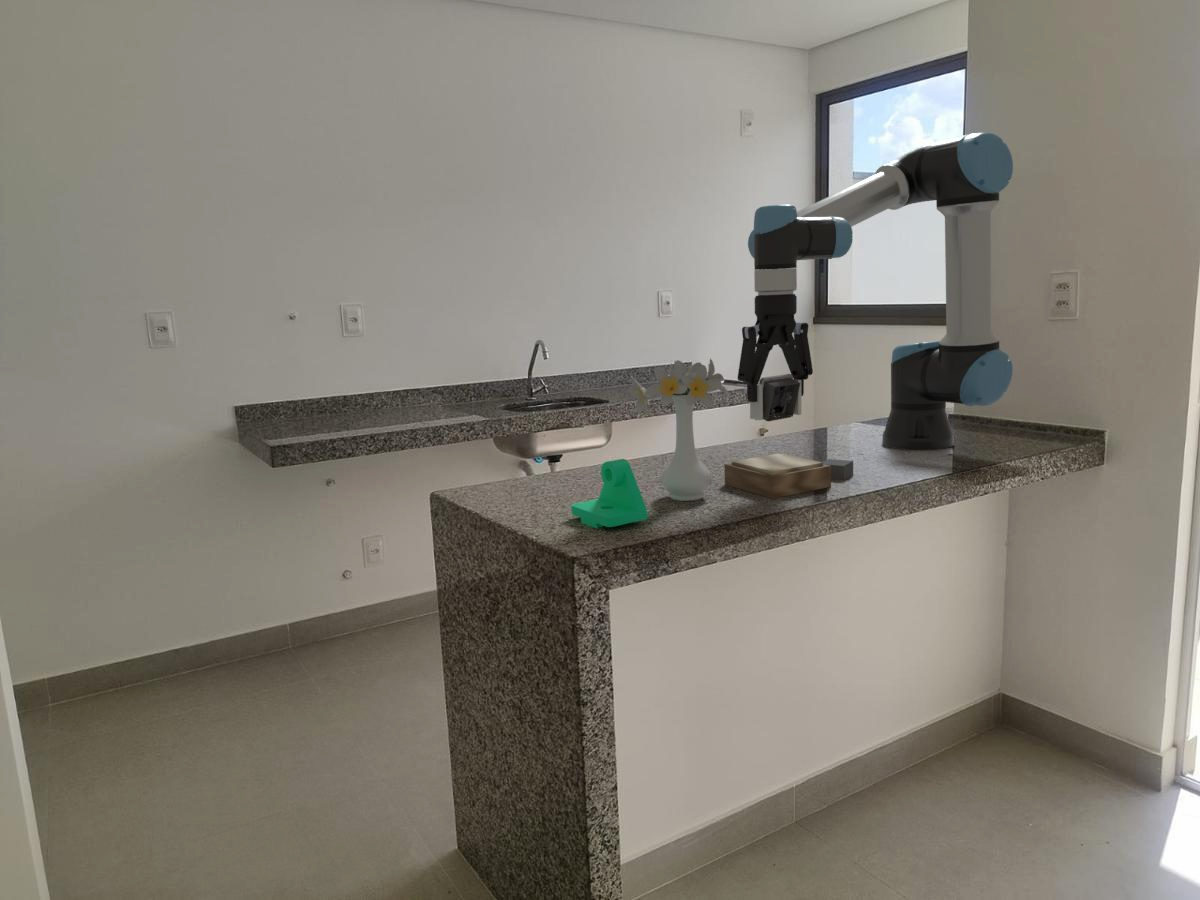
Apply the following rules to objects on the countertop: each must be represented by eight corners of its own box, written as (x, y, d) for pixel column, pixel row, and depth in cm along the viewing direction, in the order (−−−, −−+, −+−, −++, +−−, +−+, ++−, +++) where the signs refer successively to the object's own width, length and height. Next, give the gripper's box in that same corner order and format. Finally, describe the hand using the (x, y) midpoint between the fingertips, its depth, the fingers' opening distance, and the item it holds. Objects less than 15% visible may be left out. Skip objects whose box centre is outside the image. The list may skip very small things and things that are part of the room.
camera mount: (569, 519, 147) (566, 460, 145) (606, 511, 151) (603, 454, 149) (609, 534, 137) (606, 471, 135) (647, 525, 141) (645, 464, 140)
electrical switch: (782, 414, 165) (784, 372, 163) (800, 419, 162) (803, 375, 160) (751, 420, 161) (753, 376, 158) (769, 425, 157) (772, 380, 155)
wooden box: (781, 474, 173) (781, 451, 172) (831, 486, 161) (831, 462, 160) (724, 484, 166) (724, 461, 165) (772, 498, 154) (771, 473, 153)
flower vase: (623, 499, 159) (617, 363, 154) (705, 484, 167) (702, 355, 162) (661, 513, 147) (656, 367, 143) (747, 497, 156) (745, 358, 151)
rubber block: (828, 473, 172) (828, 459, 172) (853, 475, 170) (853, 460, 169) (819, 478, 169) (819, 463, 168) (843, 481, 166) (843, 465, 165)
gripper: (806, 291, 165) (805, 408, 169) (715, 296, 155) (717, 420, 159) (834, 290, 158) (833, 412, 163) (741, 295, 148) (742, 425, 153)
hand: (776, 416), depth 161 cm, fingers closed on electrical switch, 8 cm apart
